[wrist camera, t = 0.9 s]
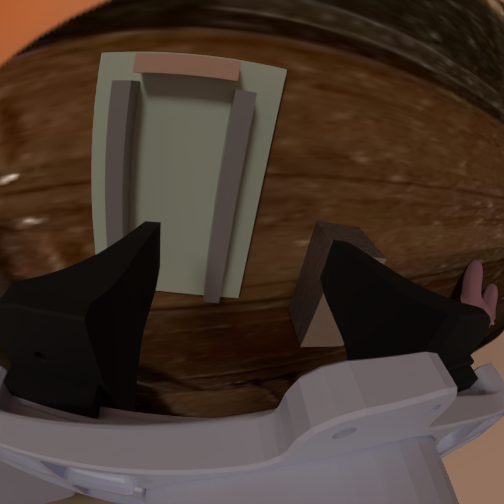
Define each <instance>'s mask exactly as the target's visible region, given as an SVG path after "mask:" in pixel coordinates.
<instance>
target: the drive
mask: <svg viewBox="0 0 504 504" xmlns="http://www.w3.org/2000/svg"><path fill="white" fill-rule="evenodd" d="M333 240H339V241H346V242H348V243H350V244H352V245H354V246H356V247H358V248H359V249H361V250H362V251H364V252H365V253H367V254H368V255H370V256H371V257H373V258H374V259H376V260H377V261H379V262H380V263H382V264H383V265H384V263H385V261H386V257H385V256H384V255H383V254H382V253H381V251H380V250H379V249H378V248H377V247H376V246H375V244H374V243H373V242H372V241H371V240H370V239H369V238H368V236H367V235H366V234H365V233H364V232H363V231H362V230H361V229H360V227H355V226H348V225H342V224H336V223H329V222H323V221H316V224H315V227H314V230H313V233H312V237H311V240H310V243H309V246H308V250H307V253H306V256H305V259H304V262H303V265H302V268H301V271H300V275H299V278H298V281H297V284H296V287H295V290H294V293H293V296H292V299H291V302H290V304H289V307H288V309H289V312H290V315H291V318H292V321H293V325H294V328H295V331H296V334H297V338H298V341H299V344H300V347H328V346H343V345H344V342H343V339H342V336H341V334H340V332H339V329H338V327H337V325H336V322H335V320H334V318H333V315H332V313H331V311H330V308H329V306H328V304H327V301H326V299H325V296H324V292H323V289H322V285H321V280H320V277H321V274H322V271H323V268H324V266H325V263H326V260H327V257H328V254H329V251H330V248H331V245H332V242H333Z"/></svg>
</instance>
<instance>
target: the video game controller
mask: <svg viewBox="0 0 504 504" xmlns="http://www.w3.org/2000/svg"><path fill="white" fill-rule="evenodd" d="M482 276H483V269H482V265H481V263H480V262H479V261H478V260H473V261H472V262H470V264H469V265H468V267H467V269H466V271H465V274H464V277H463V283H462V293H461V297H460V298H461V302H462V303H466V304H470V305H473V306H477V307H480V308H482V309H484V310H485V311H486V312H487V314H488V315H489V316H490V320H491V321H490V325H491V324H493V325H494V322H493V321H494V320H495V309H496V303H497V297H498V291H497V287H496V285H495V284H489V285H488V286H487V287H486V288H485V290H484V292H483V295H482V296H481V285H482ZM489 327H490V326H489Z"/></svg>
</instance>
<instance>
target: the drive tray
mask: <svg viewBox="0 0 504 504" xmlns="http://www.w3.org/2000/svg"><path fill="white" fill-rule="evenodd" d="M286 72H287V70H286V69H282V68H278V67H273V66H268V65H263V64H258V63H253V62H247V61H241V60H235V59H228V58H221V57H213V56H205V55H195V54H182V53H165V52H110V53H102V55H101V61H100V67H99V74H98V81H97V89H96V98H95V108H94V120H93V136H92V213H93V229H94V242H95V252H96V254H98V253H100V252H101V251H103V250H105V249H106V248H108V247H109V246H111V245H112V244H114V243H115V242H117V241H119V240H120V239H122V238H123V237H124V236H126V235H127V234H128V233H130V232H131V231H133V230H134V229H135V228H137V227H138V226H139V225H141V224H142V223H144V222H145V221H150V222H161V233H160V270H159V276H158V281H157V287H156V291H166V292H175V293H185V294H196V295H203V302H211V303H219V301H220V297H231V298H238V297H239V293H240V288H241V283H242V278H243V273H244V269H245V264H246V259H247V254H248V250H249V245H250V240H251V235H252V231H253V226H254V221H255V216H256V212H257V207H258V202H259V198H260V193H261V188H262V183H263V179H264V174H265V169H266V165H267V160H268V155H269V151H270V146H271V141H272V137H273V132H274V127H275V123H276V118H277V113H278V109H279V104H280V100H281V95H282V90H283V86H284V81H285V76H286Z"/></svg>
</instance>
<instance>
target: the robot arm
mask: <svg viewBox="0 0 504 504" xmlns="http://www.w3.org/2000/svg"><path fill="white" fill-rule="evenodd" d="M160 233H161V222H150V221H145V222H144V223H142V224H141V225H139V226H138V227H137V228H135V229H134V230H133V231H131V232H130V233H128V234H127V235H126V236H124V237H123V238H122V239H120V240H119V241H117V242H115V243H114V244H112V245H111V246H109V247H108V248H106V249H105V250H103V251H101V252H100V253H98V254H96V255H94V256H92V257H90V258H88V259H86V260H84V261H82V262H79V263H77V264H75V265H72V266H70V267H67V268H65V269H62V270H59V271H56V272H53V273H50V274H46V275H43V276H39V277H35V278H30V279H25V280H21V281H15V282H12V283H11V285H10V286H9V288H8V289H7V290H6V292H5V293H4V295H3V296H2V298H1V299H0V343H1V345H2V347H3V348H4V350H5V352H6V354H7V356H8V357H9V359H10V361H11V362H12V364H11V366H10V369H9V371H7V370H6V369H4V368H3V367H2V366H0V504H46V503H49V502H53V501H57V500H60V499H64V498H67V497H71V496H73V495H75V492H78V493H81V494H84V495H88V496H91V497H94V498H98V499H102V500H106V501H110V502H114V503H118V504H459V503H458V500H457V498H456V495H455V492H454V489H453V487H452V484H451V482H450V479H449V477H448V474H447V471H446V469H445V467H444V464H443V462H442V459H441V458H442V457H444V456H446V455H448V454H449V453H451V452H453V451H455V450H456V449H458V448H460V447H462V446H463V445H465V444H467V443H469V442H470V441H472V440H474V439H475V438H477V437H479V436H480V435H481V434H482V433H484V432H485V431H486V430H487V429H489V428H490V427H491V426H492V425H493V424H494V423H496V422H497V421H498V420H499V419H500V418H501V417H502V416H503V415H504V381H503V379H502V378H501V376H500V375H499V373H498V371H497V370H496V368H495V367H494V365H493V364H492V363H488V364H485V365H482V366H480V367H478V368H476V369H475V370H474V371H473V369H472V367H471V366H470V365H472V364H473V363H474V360H473V359H472V357H471V356H470V355H471V354H472V353H473V352H474V350H475V349H476V348H477V346H478V345H479V344H480V342H481V341H482V340H483V338H484V336H485V335H486V333H487V331H488V329H489V326H490V321H491V320H490V316H489V315H488V314H487V312H486V311H485V310H484V309H482V308H480V307H477V306H473V305H470V304H466V303H462V302H459V301H456V300H453V299H450V298H447V297H444V296H442V295H439V294H437V293H435V292H432V291H430V290H428V289H425V288H423V287H421V286H419V285H417V284H415V283H414V282H412V281H410V280H408V279H406V278H404V277H403V276H401V275H399V274H398V273H396V272H395V271H393V270H391V269H390V268H388V267H387V266H385V265H383V264H382V263H380V262H379V261H377V260H376V259H374V258H373V257H371V256H370V255H368V254H367V253H365V252H364V251H362V250H361V249H359V248H358V247H356V246H354V245H352V244H350V243H348V242H346V241H339V240H333V242H332V245H331V248H330V251H329V254H328V257H327V260H326V263H325V266H324V268H323V271H322V274H321V277H320V280H321V285H322V289H323V292H324V296H325V299H326V301H327V304H328V306H329V308H330V311H331V313H332V315H333V318H334V320H335V322H336V325H337V327H338V329H339V332H340V334H341V336H342V339H343V342H344V345H345V349H346V352H347V356H348V360H346V361H341V362H336V363H332V364H328V365H323V366H320V367H318V368H316V369H315V370H313V371H311V372H309V373H307V374H305V375H303V376H301V377H300V378H299V379H298V380H297V381H296V382H295V383H294V384H293V385H292V386H291V387H290V388H289V389H288V391H287V392H286V393H285V395H284V397H283V399H282V401H281V403H280V405H279V406H278V408H277V409H272V410H266V411H261V412H255V413H249V414H243V415H237V416H230V417H222V418H192V417H177V416H166V415H156V414H147V413H139V412H135V398H136V384H137V373H138V364H139V356H140V349H141V342H142V336H143V331H144V327H145V324H146V320H147V317H148V313H149V310H150V307H151V303H152V300H153V297H154V293H155V290H156V287H157V281H158V276H159V270H160Z"/></svg>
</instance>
